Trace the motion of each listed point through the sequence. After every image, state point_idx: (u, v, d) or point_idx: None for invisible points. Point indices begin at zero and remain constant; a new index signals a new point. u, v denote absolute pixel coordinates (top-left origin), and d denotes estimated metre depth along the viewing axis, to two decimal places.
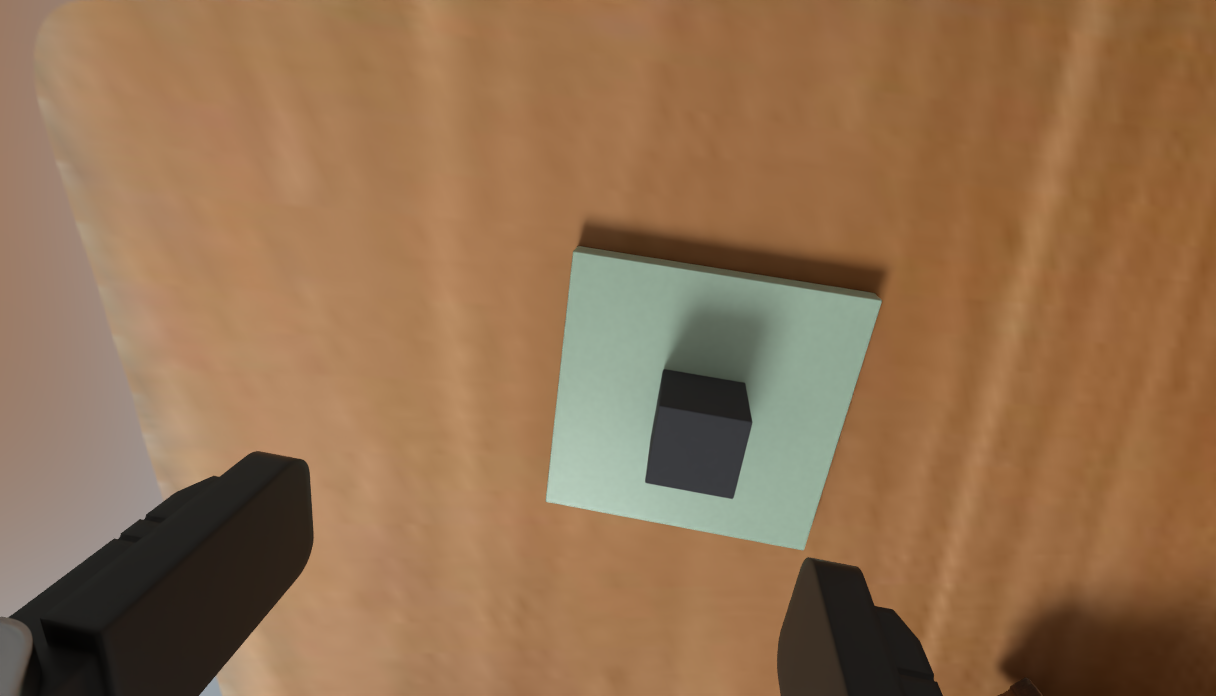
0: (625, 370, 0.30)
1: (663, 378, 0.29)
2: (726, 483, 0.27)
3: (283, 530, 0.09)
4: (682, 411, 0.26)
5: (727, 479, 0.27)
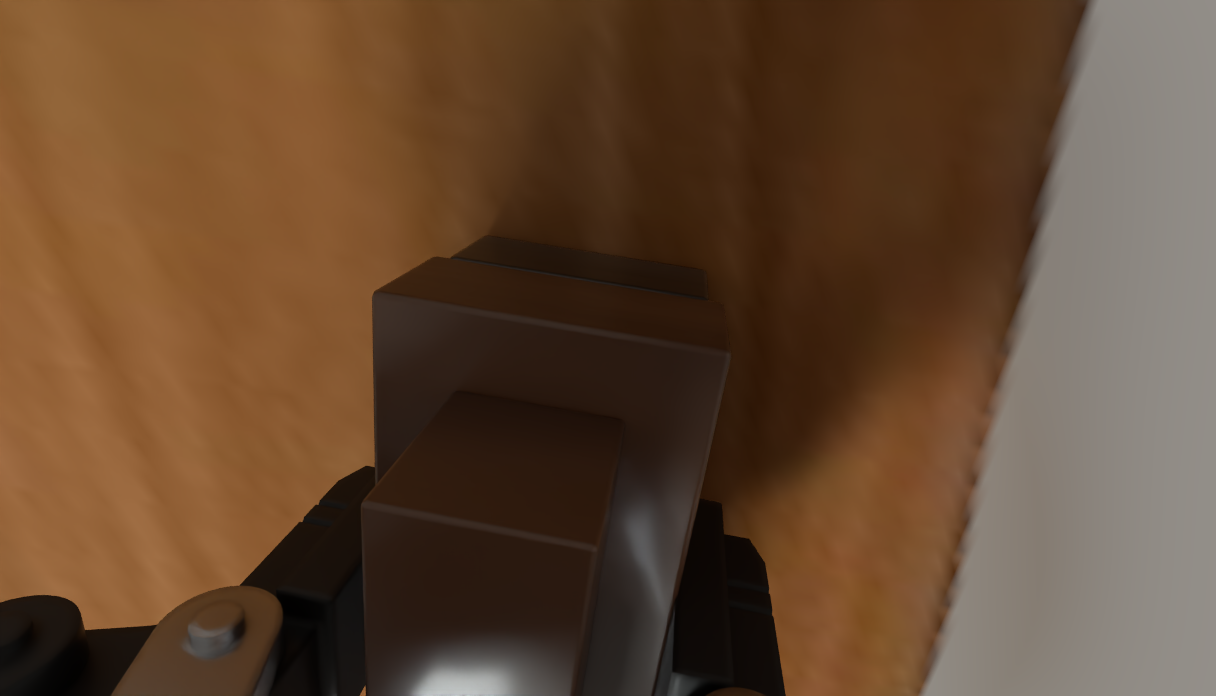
0: None
1: None
2: None
3: None
4: None
5: None
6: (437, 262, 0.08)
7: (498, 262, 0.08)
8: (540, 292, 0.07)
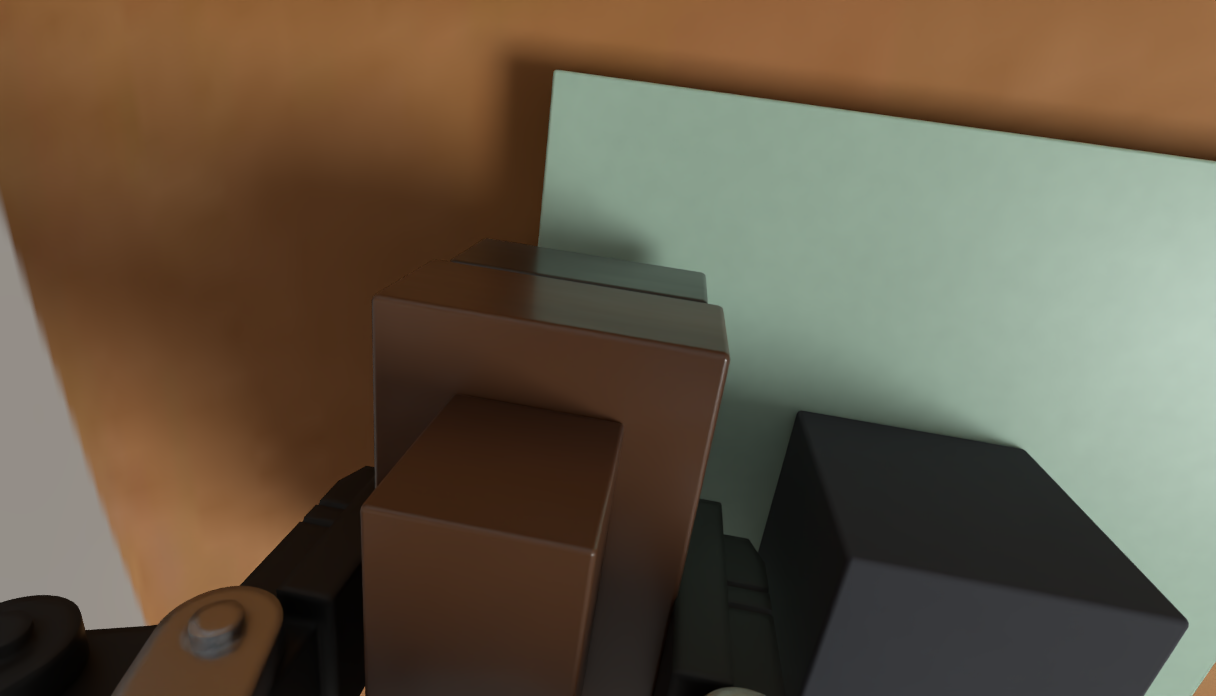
0: None
1: None
2: (1107, 640, 0.07)
3: None
4: None
5: (1089, 636, 0.07)
6: (437, 266, 0.08)
7: (498, 265, 0.08)
8: (539, 295, 0.08)
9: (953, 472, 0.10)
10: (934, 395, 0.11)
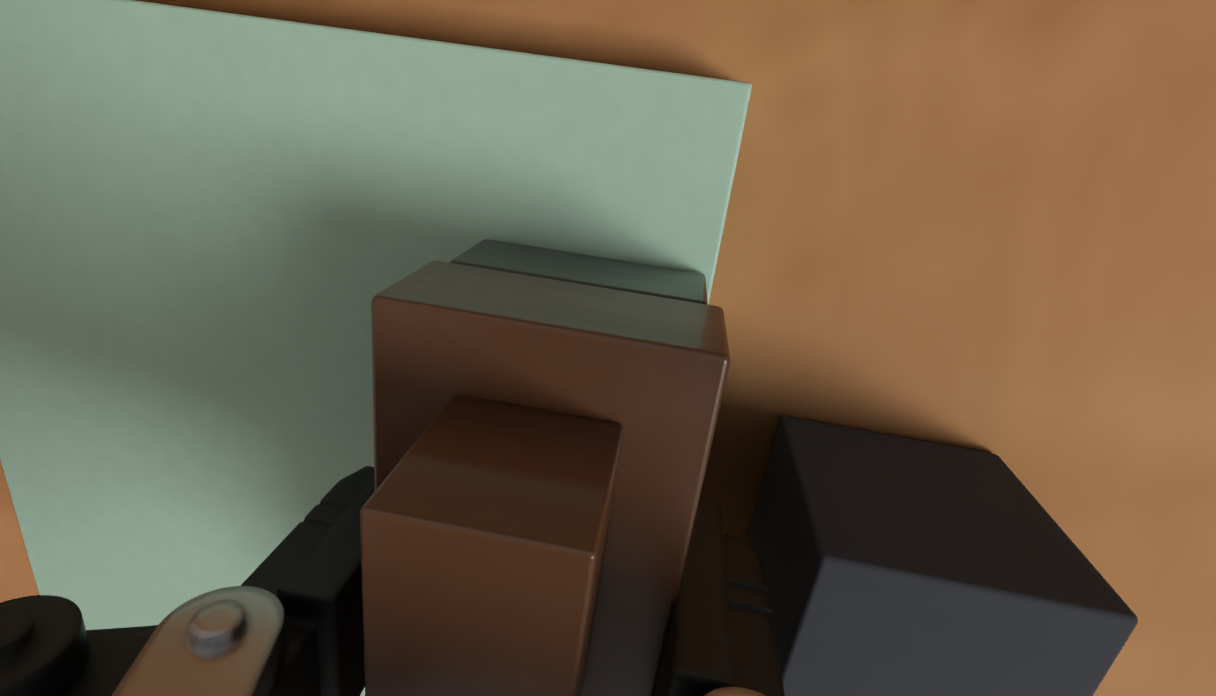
0: (248, 570, 0.13)
1: None
2: None
3: None
4: None
5: None
6: (437, 267, 0.08)
7: (497, 266, 0.08)
8: (539, 296, 0.07)
9: (880, 479, 0.10)
10: (308, 298, 0.11)
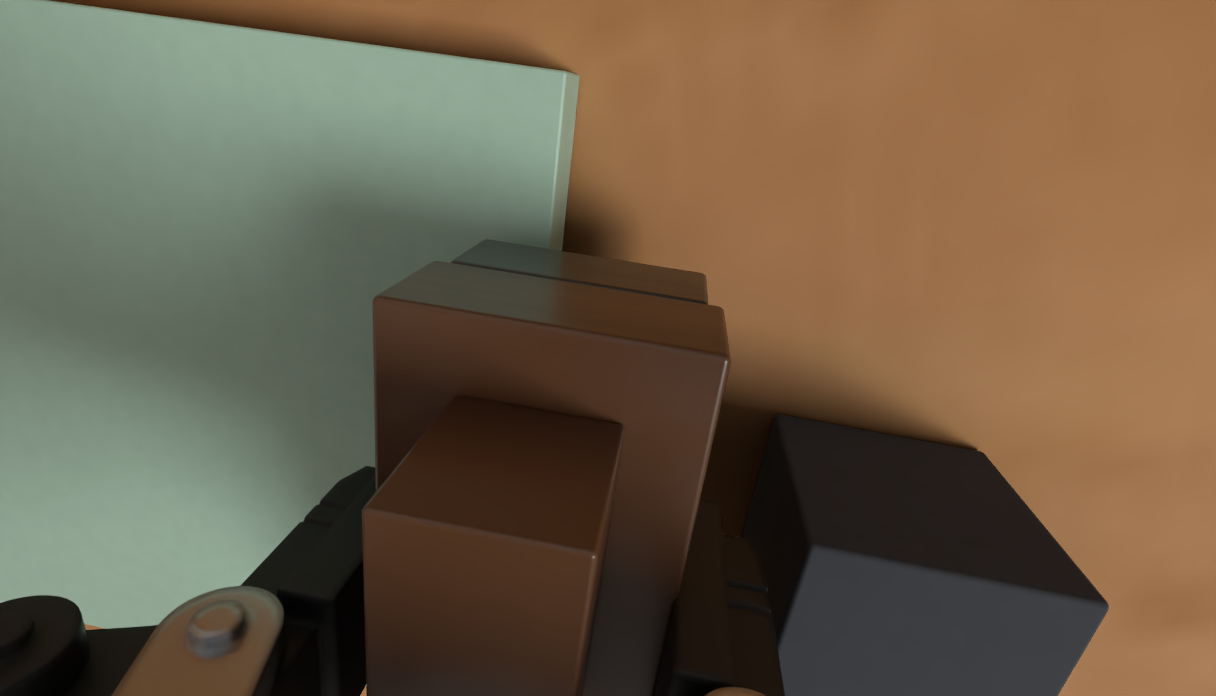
0: (148, 538, 0.14)
1: None
2: None
3: None
4: None
5: None
6: (438, 266, 0.08)
7: (498, 266, 0.08)
8: (540, 297, 0.08)
9: (868, 474, 0.10)
10: (183, 276, 0.11)
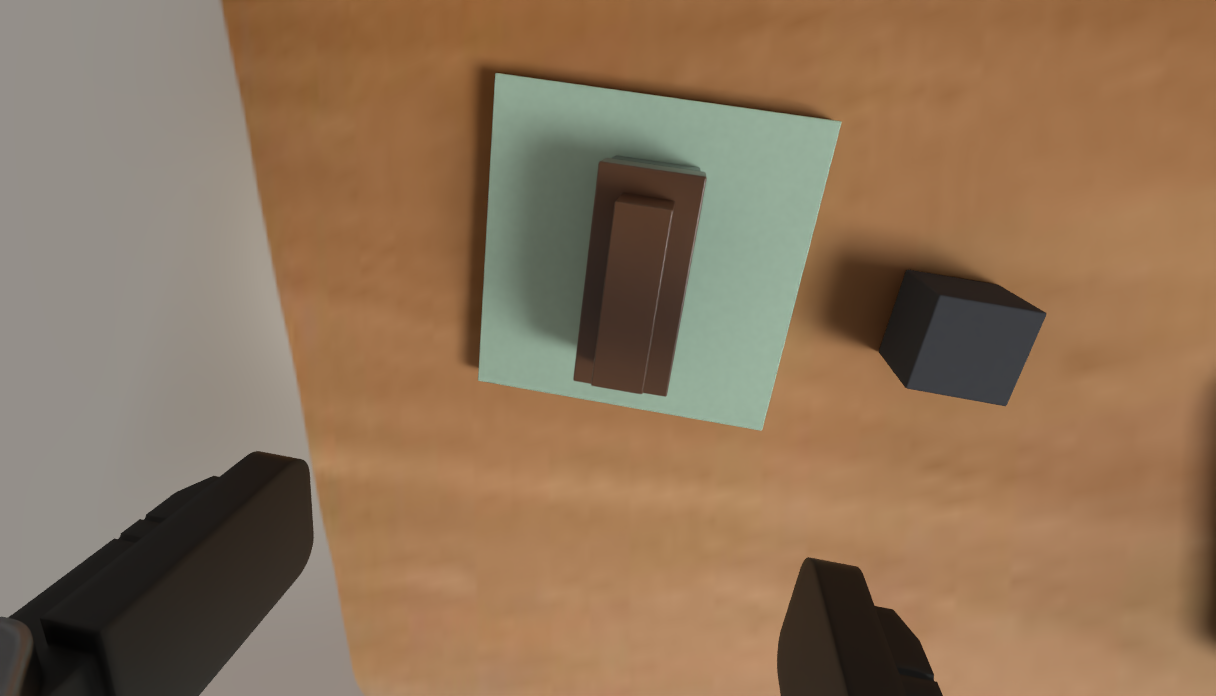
0: None
1: (935, 392, 0.25)
2: None
3: (283, 530, 0.09)
4: (1015, 383, 0.24)
5: None
6: (609, 158, 0.24)
7: (627, 160, 0.24)
8: (646, 165, 0.23)
9: (953, 285, 0.25)
10: None
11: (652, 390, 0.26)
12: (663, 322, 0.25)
